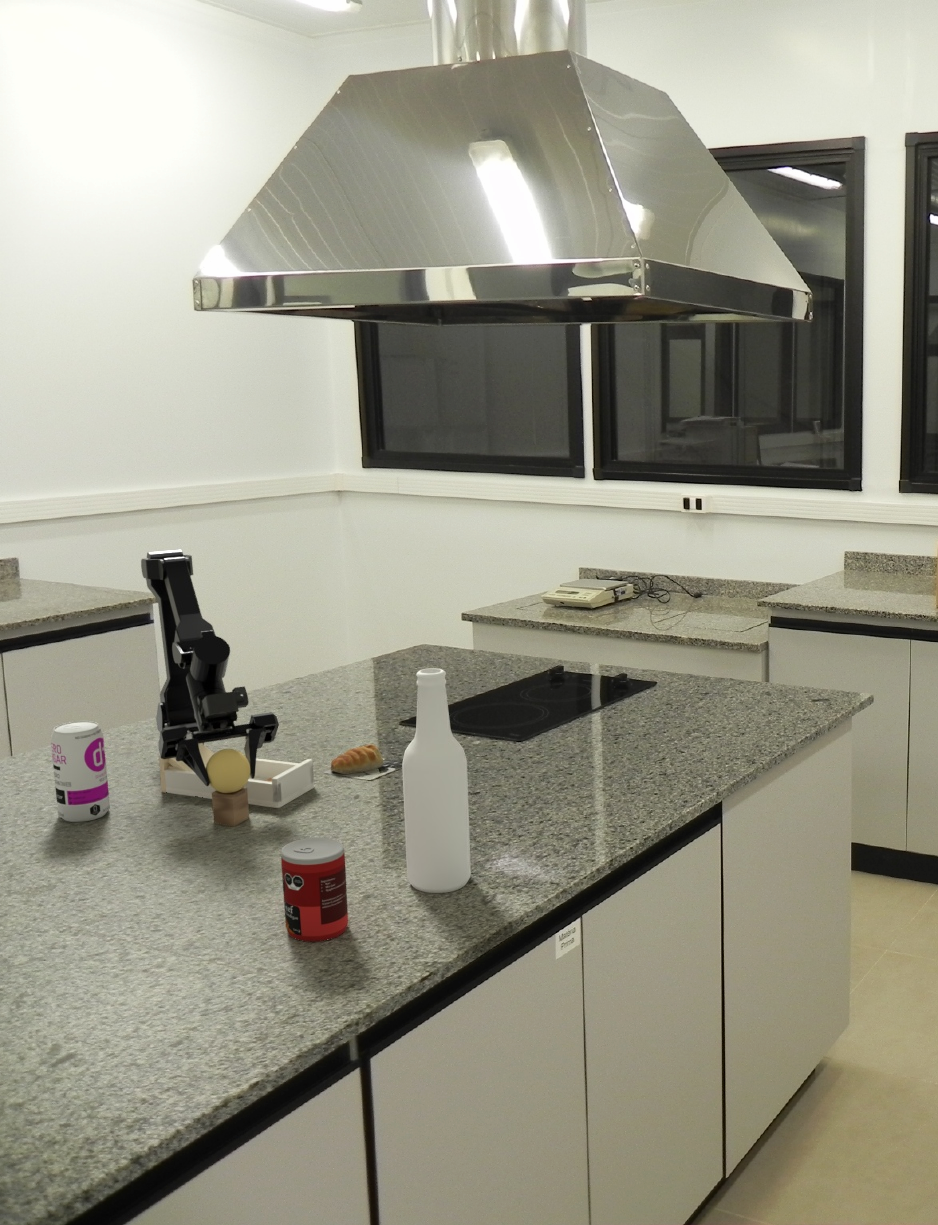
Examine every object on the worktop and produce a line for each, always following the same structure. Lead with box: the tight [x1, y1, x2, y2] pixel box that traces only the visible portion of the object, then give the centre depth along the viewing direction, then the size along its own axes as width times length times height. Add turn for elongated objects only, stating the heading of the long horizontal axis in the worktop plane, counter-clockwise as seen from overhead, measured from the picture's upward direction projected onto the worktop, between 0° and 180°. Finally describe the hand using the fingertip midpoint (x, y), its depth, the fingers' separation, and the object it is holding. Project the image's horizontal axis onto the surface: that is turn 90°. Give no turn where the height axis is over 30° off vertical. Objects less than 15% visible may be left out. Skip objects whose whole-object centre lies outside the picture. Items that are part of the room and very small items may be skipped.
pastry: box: [330, 743, 384, 775], centre depth 220 cm, size 9×7×4 cm
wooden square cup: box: [211, 787, 250, 827], centre depth 195 cm, size 4×4×5 cm
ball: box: [206, 748, 250, 793], centre depth 194 cm, size 7×7×7 cm
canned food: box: [280, 837, 349, 943], centre depth 154 cm, size 8×8×11 cm
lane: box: [158, 743, 315, 809], centre depth 210 cm, size 24×11×6 cm, turn 65°
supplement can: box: [50, 720, 111, 823], centre depth 199 cm, size 8×8×15 cm
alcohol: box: [401, 667, 472, 894], centre depth 166 cm, size 9×9×30 cm
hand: (230, 781), depth 193 cm, fingers closed on ball, 7 cm apart
